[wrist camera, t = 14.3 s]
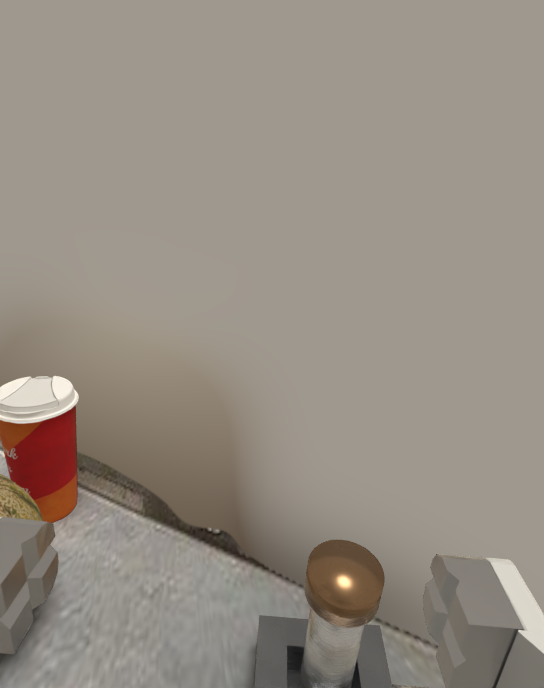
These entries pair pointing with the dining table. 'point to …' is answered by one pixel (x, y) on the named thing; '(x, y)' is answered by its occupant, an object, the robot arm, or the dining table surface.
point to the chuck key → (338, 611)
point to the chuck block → (288, 648)
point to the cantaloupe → (17, 502)
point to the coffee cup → (41, 441)
